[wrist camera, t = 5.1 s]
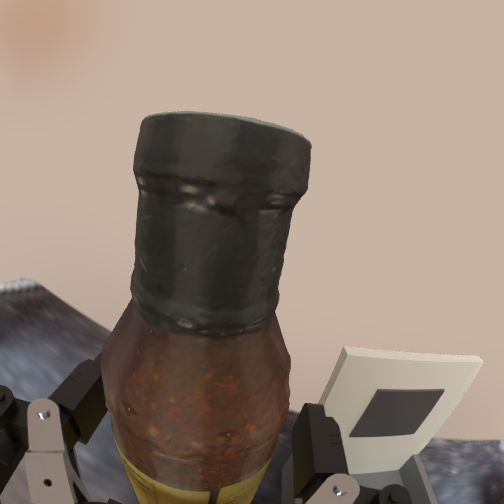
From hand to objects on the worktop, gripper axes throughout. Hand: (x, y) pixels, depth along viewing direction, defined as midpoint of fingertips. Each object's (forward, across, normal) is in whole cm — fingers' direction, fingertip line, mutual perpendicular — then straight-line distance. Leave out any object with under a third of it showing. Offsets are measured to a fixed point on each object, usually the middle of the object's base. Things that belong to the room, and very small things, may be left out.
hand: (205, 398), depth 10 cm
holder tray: (-2, -11, +10) cm, 15 cm away
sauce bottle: (-2, 0, +10) cm, 10 cm away
